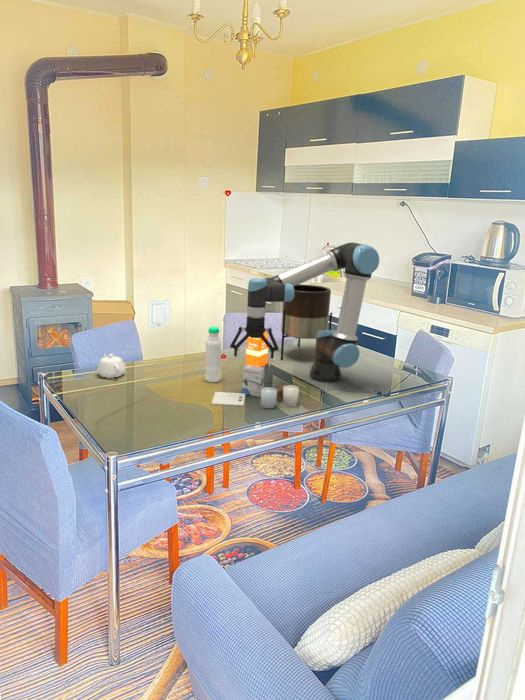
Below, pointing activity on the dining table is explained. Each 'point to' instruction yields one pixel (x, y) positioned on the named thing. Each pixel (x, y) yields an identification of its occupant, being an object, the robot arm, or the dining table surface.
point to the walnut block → (279, 393)
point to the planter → (306, 313)
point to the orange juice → (256, 351)
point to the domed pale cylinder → (268, 397)
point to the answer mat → (228, 399)
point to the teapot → (111, 366)
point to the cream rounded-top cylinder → (290, 395)
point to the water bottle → (213, 356)
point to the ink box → (253, 380)
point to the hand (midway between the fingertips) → (253, 364)
